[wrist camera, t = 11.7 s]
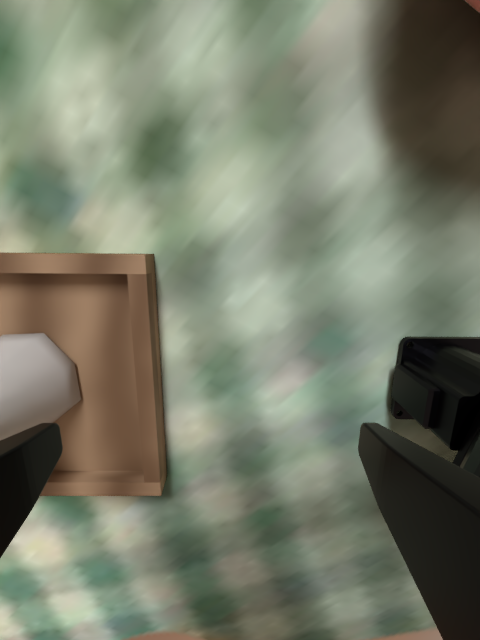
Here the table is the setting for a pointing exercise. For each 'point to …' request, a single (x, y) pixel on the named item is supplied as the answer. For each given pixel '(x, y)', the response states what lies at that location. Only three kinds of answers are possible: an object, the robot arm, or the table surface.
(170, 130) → the table surface
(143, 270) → the walnut tray
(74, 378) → the flask
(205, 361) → the table surface
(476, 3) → the cell model
